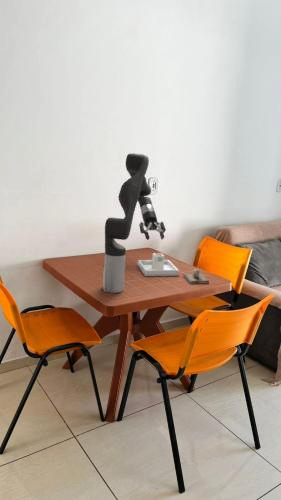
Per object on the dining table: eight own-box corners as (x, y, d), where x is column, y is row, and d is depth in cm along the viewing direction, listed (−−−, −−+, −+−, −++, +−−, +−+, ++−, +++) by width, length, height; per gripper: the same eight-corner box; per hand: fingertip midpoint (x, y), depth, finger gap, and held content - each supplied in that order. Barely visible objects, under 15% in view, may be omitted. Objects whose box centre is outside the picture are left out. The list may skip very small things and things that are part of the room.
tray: (145, 276, 196) (145, 270, 195) (137, 265, 212) (137, 260, 212) (178, 275, 200) (178, 270, 199) (168, 265, 217) (168, 259, 216)
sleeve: (155, 271, 202) (156, 256, 200) (151, 267, 208) (152, 253, 206) (164, 270, 203) (165, 256, 201) (160, 267, 209) (161, 253, 207)
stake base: (189, 283, 189) (190, 273, 188) (183, 276, 198) (184, 266, 197) (208, 283, 191) (209, 272, 190) (201, 276, 201) (202, 266, 199)
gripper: (139, 210, 208) (145, 235, 201) (162, 210, 213) (170, 235, 206) (134, 218, 214) (141, 243, 207) (157, 217, 219) (164, 242, 212)
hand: (155, 239), depth 206 cm, fingers open, 8 cm apart
